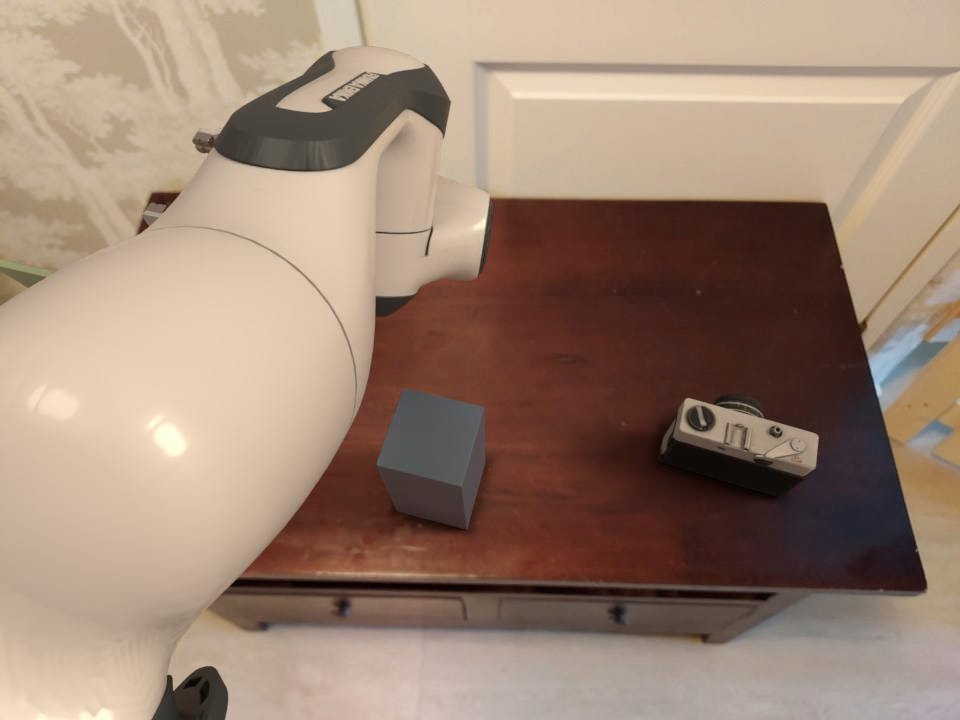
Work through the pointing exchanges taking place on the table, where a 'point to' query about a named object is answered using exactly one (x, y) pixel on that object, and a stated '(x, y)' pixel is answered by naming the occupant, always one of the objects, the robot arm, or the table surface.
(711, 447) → the camera
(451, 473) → the block
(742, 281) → the table surface
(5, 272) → the box lid
